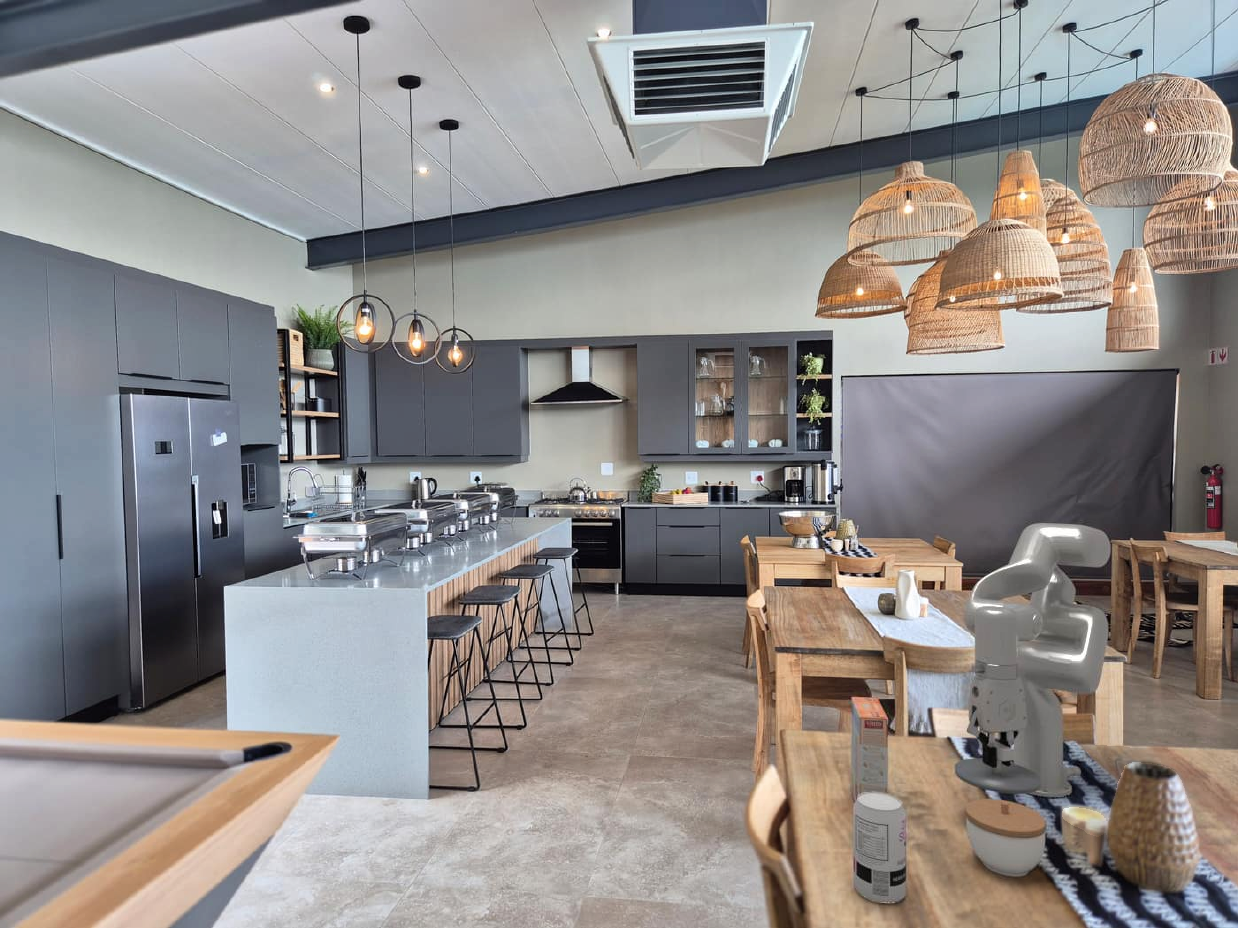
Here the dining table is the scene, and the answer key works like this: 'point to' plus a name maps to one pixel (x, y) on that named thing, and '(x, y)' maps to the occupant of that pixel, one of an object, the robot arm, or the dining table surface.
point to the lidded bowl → (1005, 835)
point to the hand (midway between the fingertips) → (996, 763)
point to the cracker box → (868, 747)
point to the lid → (998, 773)
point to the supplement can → (879, 847)
